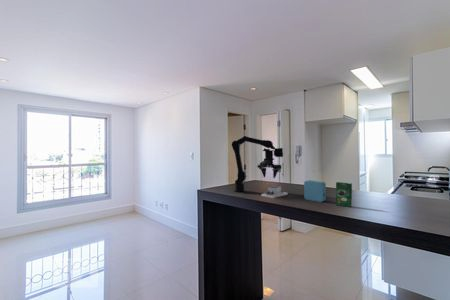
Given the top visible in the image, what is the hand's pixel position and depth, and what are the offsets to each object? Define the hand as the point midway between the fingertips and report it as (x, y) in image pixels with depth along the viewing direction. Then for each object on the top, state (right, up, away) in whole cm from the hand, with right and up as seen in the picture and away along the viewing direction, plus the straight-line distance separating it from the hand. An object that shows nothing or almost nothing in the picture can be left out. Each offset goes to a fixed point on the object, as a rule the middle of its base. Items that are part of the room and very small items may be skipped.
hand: (269, 177), depth 169 cm
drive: (+1, -10, -12) cm, 15 cm away
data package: (+23, -11, -29) cm, 38 cm away
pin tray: (+1, -11, -12) cm, 16 cm away
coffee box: (+33, -11, -44) cm, 56 cm away
